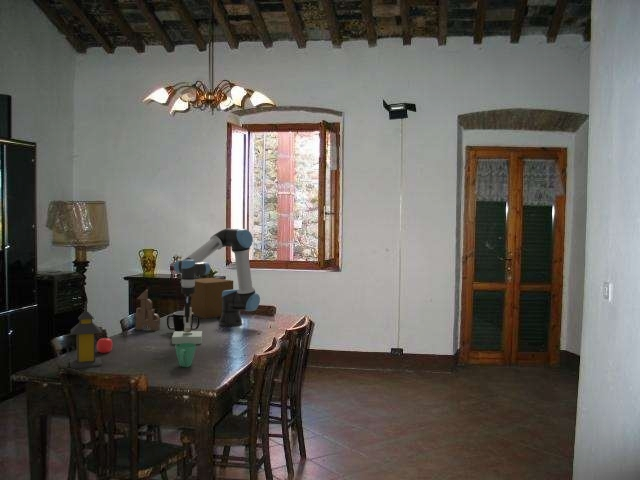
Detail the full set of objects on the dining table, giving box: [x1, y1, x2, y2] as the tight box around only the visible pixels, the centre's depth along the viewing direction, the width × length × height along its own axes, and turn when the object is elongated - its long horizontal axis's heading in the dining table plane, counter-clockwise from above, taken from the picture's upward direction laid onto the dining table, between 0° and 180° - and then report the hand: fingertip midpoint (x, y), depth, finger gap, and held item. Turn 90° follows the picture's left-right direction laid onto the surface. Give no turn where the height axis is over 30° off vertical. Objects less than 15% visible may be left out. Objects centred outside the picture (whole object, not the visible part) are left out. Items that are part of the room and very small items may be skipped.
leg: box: [183, 306, 192, 333], centre depth 345 cm, size 4×4×14 cm
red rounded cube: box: [96, 336, 114, 354], centre depth 315 cm, size 8×8×8 cm
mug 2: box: [174, 343, 197, 368], centre depth 287 cm, size 15×10×10 cm
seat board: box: [171, 330, 203, 345], centre depth 345 cm, size 16×16×4 cm
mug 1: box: [166, 311, 201, 331], centre depth 369 cm, size 16×16×12 cm
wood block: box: [184, 277, 234, 320], centre depth 435 cm, size 25×25×25 cm
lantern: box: [69, 301, 103, 369], centre depth 289 cm, size 14×14×30 cm
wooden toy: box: [134, 289, 161, 332], centre depth 377 cm, size 15×7×25 cm, turn 81°
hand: (187, 327), depth 345 cm, fingers closed on leg, 4 cm apart
